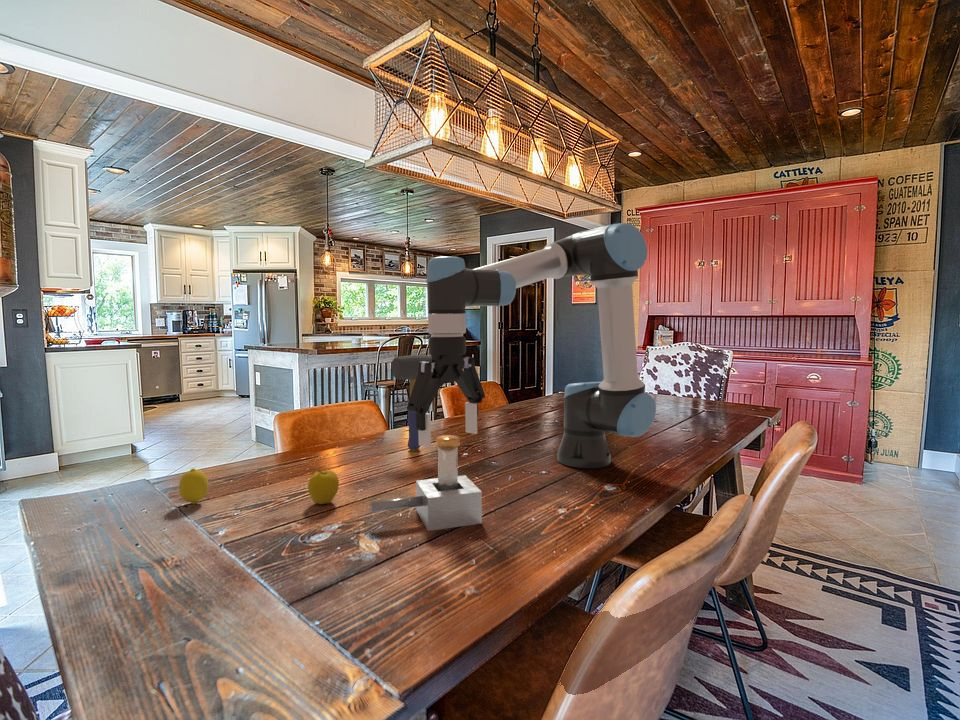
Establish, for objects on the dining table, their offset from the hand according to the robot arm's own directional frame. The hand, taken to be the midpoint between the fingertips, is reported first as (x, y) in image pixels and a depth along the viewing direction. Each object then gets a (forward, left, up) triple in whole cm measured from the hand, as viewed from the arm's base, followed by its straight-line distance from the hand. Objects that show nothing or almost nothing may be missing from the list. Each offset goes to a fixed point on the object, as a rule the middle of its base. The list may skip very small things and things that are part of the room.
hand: (449, 439), depth 99 cm
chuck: (+5, 0, -16) cm, 17 cm away
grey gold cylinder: (0, 0, -14) cm, 14 cm away
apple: (+24, -16, -16) cm, 33 cm away
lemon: (+51, -25, -16) cm, 59 cm away
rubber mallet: (-4, -54, -16) cm, 56 cm away
